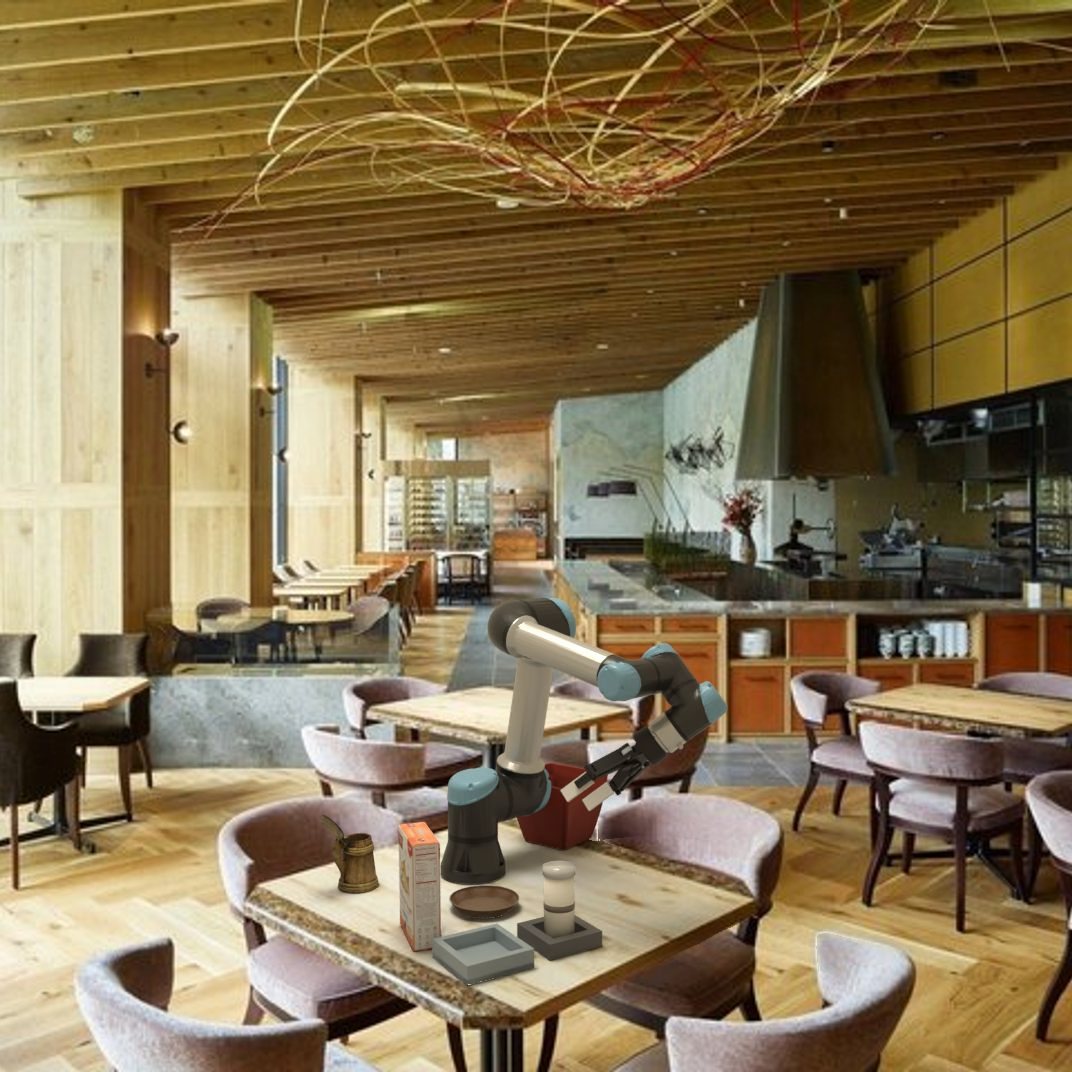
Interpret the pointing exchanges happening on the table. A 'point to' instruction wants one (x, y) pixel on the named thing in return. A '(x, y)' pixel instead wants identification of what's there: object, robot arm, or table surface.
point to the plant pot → (562, 812)
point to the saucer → (484, 901)
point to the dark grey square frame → (559, 938)
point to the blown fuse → (559, 898)
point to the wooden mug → (353, 859)
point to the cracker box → (419, 884)
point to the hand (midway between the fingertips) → (575, 801)
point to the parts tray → (482, 953)
